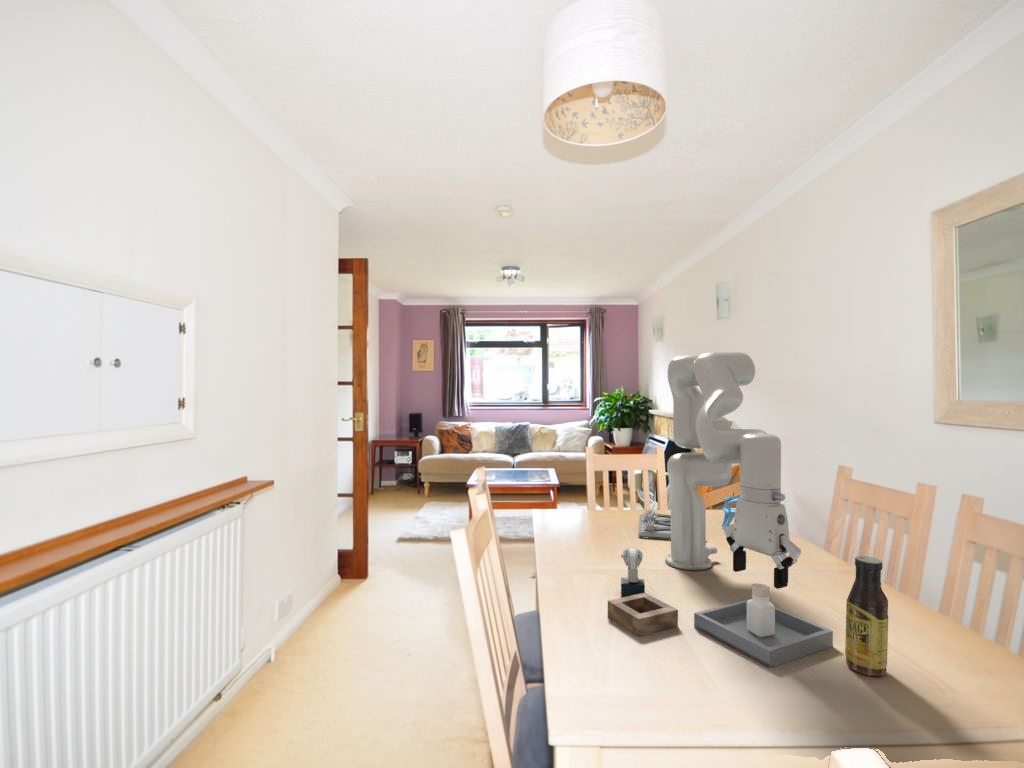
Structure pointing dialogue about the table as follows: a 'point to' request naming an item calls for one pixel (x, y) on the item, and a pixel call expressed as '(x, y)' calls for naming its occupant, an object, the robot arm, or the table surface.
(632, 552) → the watch
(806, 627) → the tray
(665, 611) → the shaker holder
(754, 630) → the salt shaker
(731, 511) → the chair
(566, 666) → the table surface
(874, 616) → the sauce bottle
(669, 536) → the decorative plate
